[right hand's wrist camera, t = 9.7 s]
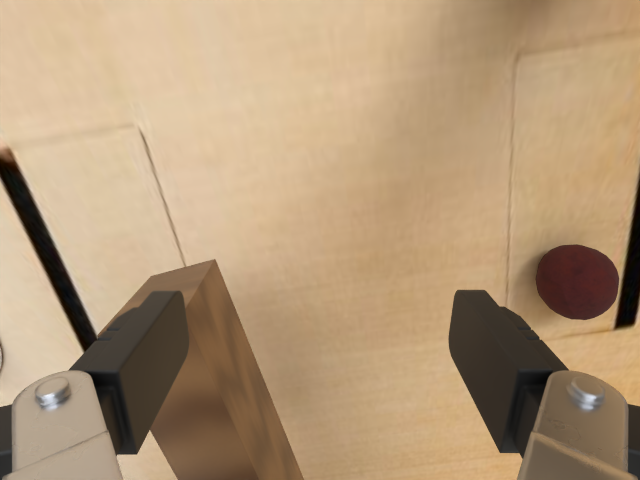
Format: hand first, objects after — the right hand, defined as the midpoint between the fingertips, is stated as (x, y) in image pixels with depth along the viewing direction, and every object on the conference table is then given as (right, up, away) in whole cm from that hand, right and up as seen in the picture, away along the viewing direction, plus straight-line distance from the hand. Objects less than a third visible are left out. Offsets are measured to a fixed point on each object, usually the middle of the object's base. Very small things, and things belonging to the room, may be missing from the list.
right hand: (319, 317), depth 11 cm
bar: (-8, -12, +24) cm, 28 cm away
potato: (+26, -1, +32) cm, 41 cm away
